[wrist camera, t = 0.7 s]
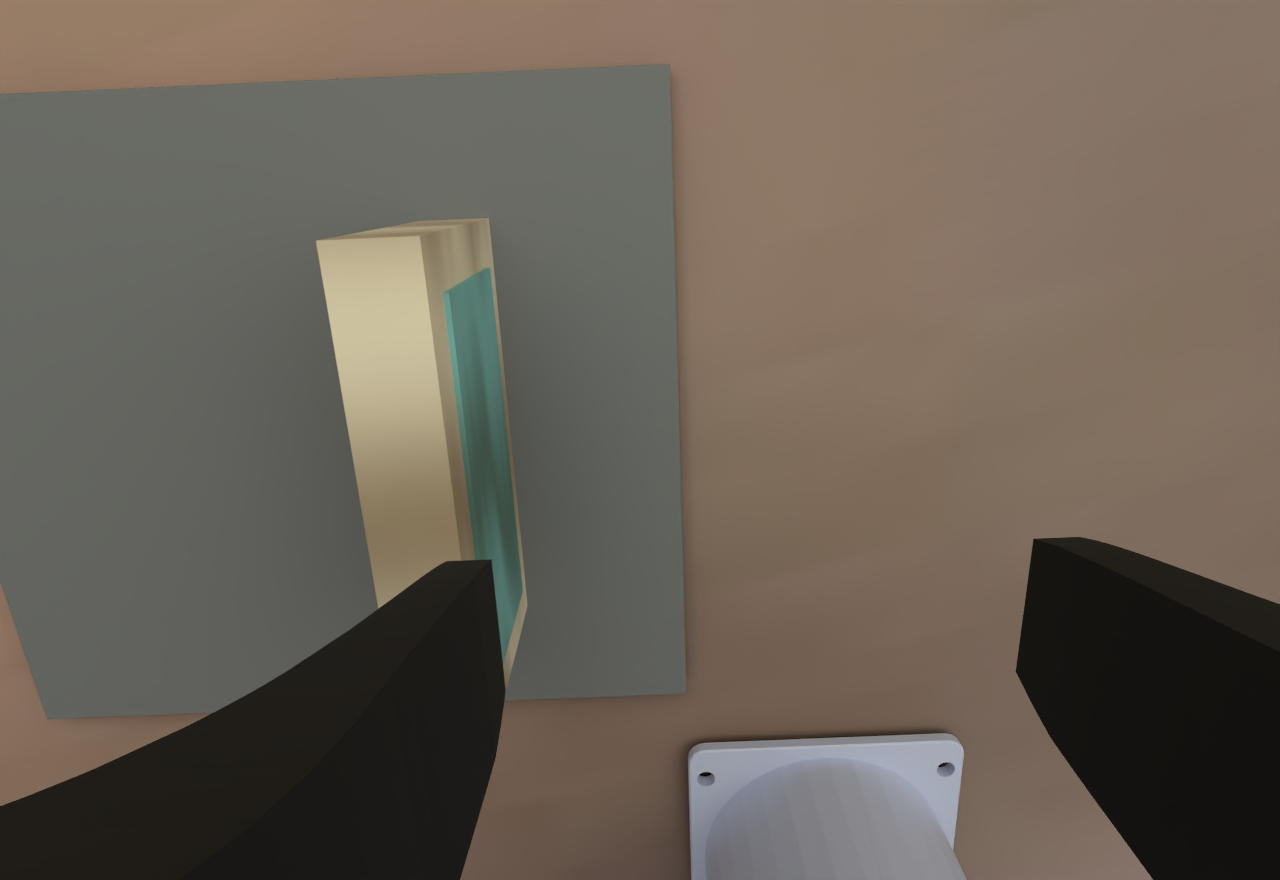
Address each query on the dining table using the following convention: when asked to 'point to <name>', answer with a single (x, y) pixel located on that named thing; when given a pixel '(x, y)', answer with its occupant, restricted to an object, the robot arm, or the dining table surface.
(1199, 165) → the dining table surface
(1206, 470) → the dining table surface
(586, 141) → the mat
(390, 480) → the slab
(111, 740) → the dining table surface
